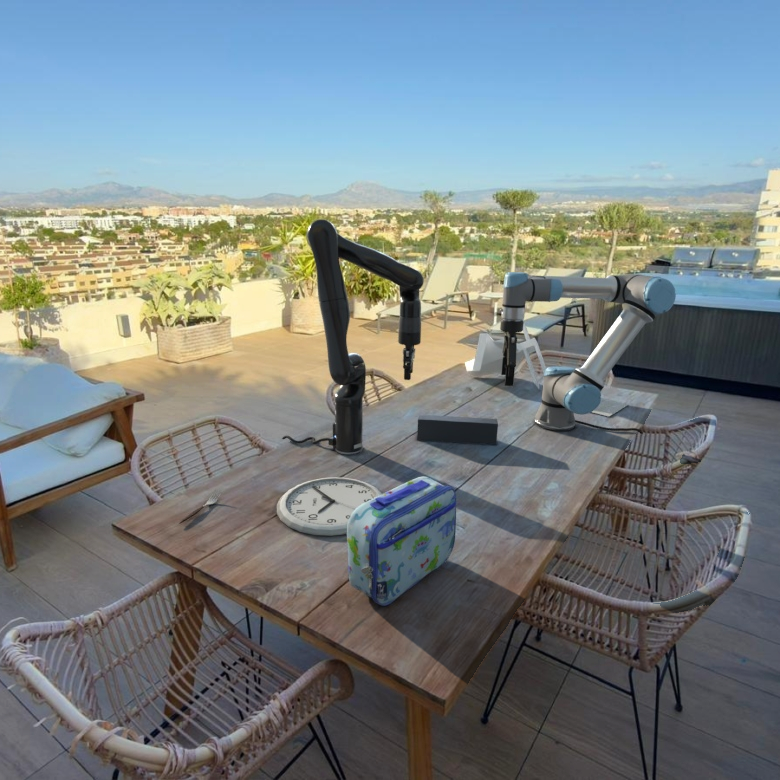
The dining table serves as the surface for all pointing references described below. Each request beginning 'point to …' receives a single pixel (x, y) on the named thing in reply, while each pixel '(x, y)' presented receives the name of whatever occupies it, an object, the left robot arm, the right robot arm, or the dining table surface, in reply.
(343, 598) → the dining table surface
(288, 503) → the wall clock
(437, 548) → the lunch box
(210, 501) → the fork
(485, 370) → the white plastic object
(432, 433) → the beam
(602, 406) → the invitation card
